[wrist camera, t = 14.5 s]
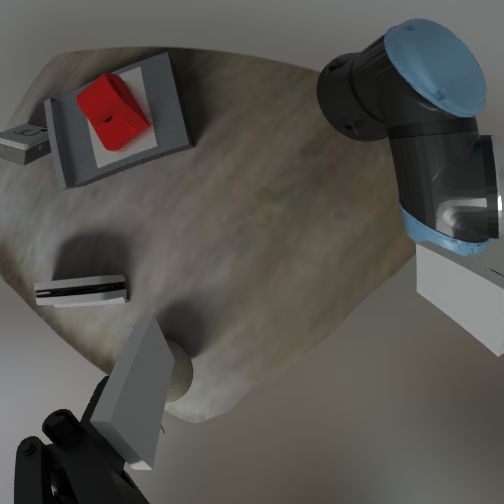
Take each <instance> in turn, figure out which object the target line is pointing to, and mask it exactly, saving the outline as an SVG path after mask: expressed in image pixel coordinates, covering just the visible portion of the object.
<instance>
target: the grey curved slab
mask: <svg viewBox="0 0 504 504" xmlns="http://www.w3.org/2000/svg"><path fill="white" fill-rule="evenodd" d="M124 281H126V280H125V277H124V275H107V276H95V277H85V278H75V279H66V280H57V281H48V282H40V283H35V289H34V290H36V293H38V292H50V294H43V295H37V298H36V302H37V305H53V306H54V307H72V306H88V305H103V304H116V303H127V302H130V300H129V299H126V298H127V289H124V287H117V288H113V287H114V285H120V284H124ZM84 288H94V291H84V292H77V289H84ZM57 291H60V292H61V293H60V294H59V293H57Z"/></svg>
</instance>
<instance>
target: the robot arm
mask: <svg viewBox="0 0 504 504" xmlns="http://www.w3.org/2000/svg"><path fill="white" fill-rule="evenodd" d="M484 96H486V85H485V80H484V77H483V74H482V71H481V69H480V66H479V64H478V62H477V61H476V59H475V57H474V56H473V54H472V53H471V51H470V50H469V49H468V47H467V46H466V45H465V44H464V43H463V42H462V41H461V40H460V39H459V38H457V37H456V36H455V34H453V33H452V32H451V31H450V30H448V29H447V28H446V27H444V26H442V25H440V24H438V23H436V22H433V21H430V20H426V19H411V20H408V21H406V22H404V23H402V24H400V25H398V26H395V27H393V28H390V29H389V30H388V31H387V32H386V33H385V34H384V35H383V36H381V38H379V39H377V40H376V41H375V42H373V43H372V44H371V45H370V46H368V47H367V48H366V49H365V50H363V51H362V52H358V53H348V54H344V55H341V56H339V57H337V58H335V59H333V60H332V61H331V62H330V63H329V64H328V65H327V66H326V67H325V68H324V69H323V70H322V72H321V74H320V76H319V79H318V83H317V97H318V102H319V105H320V108H321V110H322V112H323V114H324V116H325V117H326V119H327V120H328V121H329V123H330V124H331V125H332V126H333V127H334V128H335V129H336V130H338V131H339V132H340V133H342V134H343V135H345V136H347V137H349V138H351V139H354V140H358V141H365V142H368V141H376V140H381V139H384V138H386V137H389V143H390V147H391V152H392V156H393V161H394V166H395V172H396V178H397V184H398V191H399V205H400V207H401V209H402V214H403V220H404V226H405V229H406V232H407V234H408V235H409V236H410V237H411V238H412V239H413V240H414V241H415V242H416V253H417V292H418V293H419V294H421V295H422V296H423V297H425V298H426V299H428V300H429V301H430V302H431V303H433V304H434V305H435V306H437V307H438V308H439V309H441V310H442V311H443V312H444V313H446V314H447V315H448V316H449V317H451V318H452V319H453V320H455V321H456V322H457V323H458V324H460V325H461V326H462V327H463V328H465V329H466V330H467V331H468V332H470V333H471V334H472V335H473V336H474V337H476V338H477V339H478V340H479V341H480V342H482V343H483V344H484V345H485V346H486V347H488V348H489V349H490V350H491V351H492V352H493V353H494V354H496V355H497V356H498V357H499V356H500V355H502V354H503V353H504V276H503V275H502V276H501V274H499V273H498V272H496V271H494V270H490V269H487V268H486V267H484V266H481V265H480V264H478V263H476V262H474V261H472V260H469V259H468V258H465V257H463V256H467V255H468V253H470V254H473V255H474V254H477V253H480V252H482V251H483V250H484V249H485V248H486V246H487V244H488V242H489V238H495V239H501V238H502V237H503V236H504V145H503V144H502V143H501V142H500V141H499V140H498V139H497V138H496V137H495V136H494V135H479V132H478V128H477V122H476V118H475V115H476V114H478V112H480V111H481V110H482V108H483V106H484V105H485V98H484ZM174 361H175V359H174V357H173V355H172V353H171V351H170V349H169V347H168V344H167V342H166V340H165V338H164V336H163V333H162V331H161V329H160V327H159V324H158V322H157V320H156V317H155V315H154V314H150V315H145V316H141V317H139V319H138V321H137V323H136V325H135V327H134V329H133V330H132V332H131V334H130V336H129V338H128V340H127V342H126V344H125V346H124V348H123V350H122V352H121V354H120V356H119V358H118V360H117V362H116V364H115V367H114V369H113V371H112V373H111V375H110V376H105V377H104V378H103V379H102V381H101V382H100V383H99V384H98V385H97V387H96V389H95V391H94V395H93V396H92V397H91V399H90V403H88V406H87V408H86V410H85V412H84V414H83V416H82V419H81V421H80V422H79V421H78V420H77V419H76V418H75V416H74V415H73V414H72V412H71V411H70V410H67V409H59V410H57V411H54V412H53V413H51V414H50V415H49V416H48V417H47V418H46V419H45V421H44V423H43V425H42V431H43V432H44V433H45V435H46V436H47V437H48V438H49V439H50V440H51V441H52V442H53V444H48V445H45V444H44V443H43V442H42V441H41V440H40V439H39V438H38V437H36V436H30V437H28V438H26V439H24V440H22V442H21V443H20V445H19V446H18V449H17V453H16V463H15V464H16V465H15V480H14V504H150V503H149V502H148V501H147V499H146V498H145V497H144V495H143V494H142V493H141V491H140V490H139V489H138V487H137V486H136V485H135V483H134V482H133V480H132V479H131V477H130V476H129V474H128V473H127V472H126V471H125V470H124V469H123V468H124V464H125V461H126V462H127V463H128V464H129V465H130V466H131V467H132V468H133V469H136V470H153V464H154V459H155V453H156V448H157V442H158V437H159V432H160V427H161V421H162V416H163V411H164V407H165V402H166V397H167V392H168V388H169V383H170V378H171V374H172V370H173V365H174ZM52 489H53V490H54V496H53V493H52Z"/></svg>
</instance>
